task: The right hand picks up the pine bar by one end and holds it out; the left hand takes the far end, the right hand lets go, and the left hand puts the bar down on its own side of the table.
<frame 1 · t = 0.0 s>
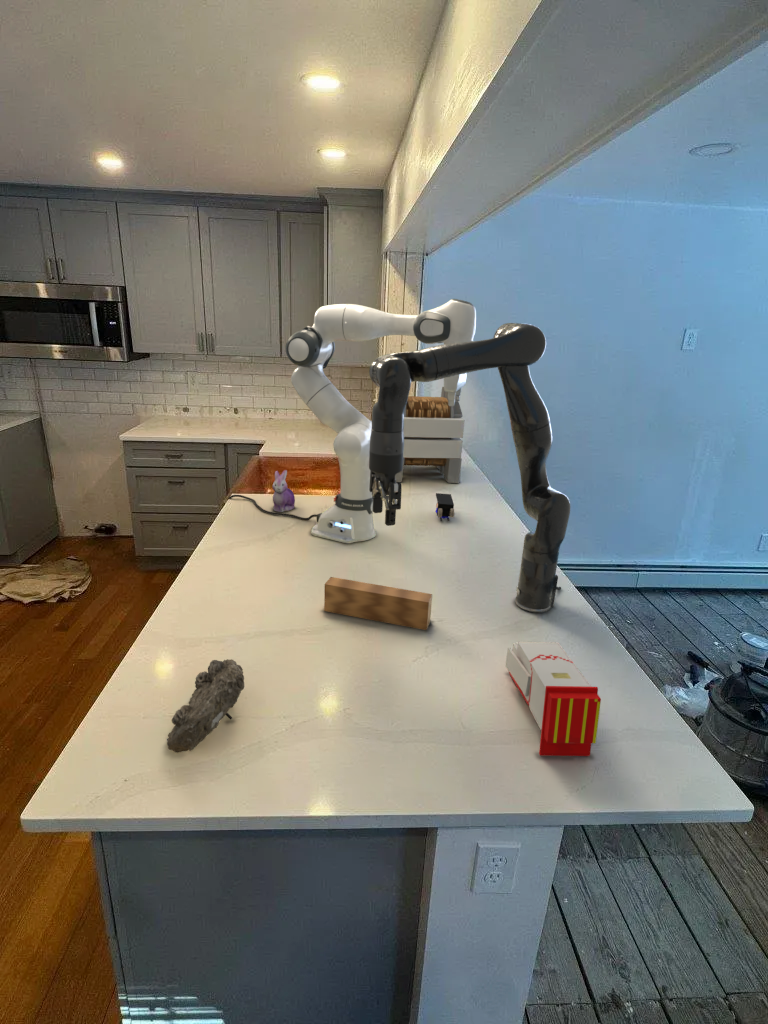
left hand: (454, 403, 174), 48 cm above the counter, tool pointing down, fingers open, 8 cm apart
right hand: (383, 518, 130), 29 cm above the counter, tool pointing down, fingers open, 8 cm apart
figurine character: (443, 517, 218), on the counter
toy: (542, 706, 115), on the counter
fossil: (212, 717, 108), on the counter
figurine: (283, 508, 219), on the counter
bar: (376, 616, 146), on the counter
legged crate with fins: (419, 473, 275), on the counter
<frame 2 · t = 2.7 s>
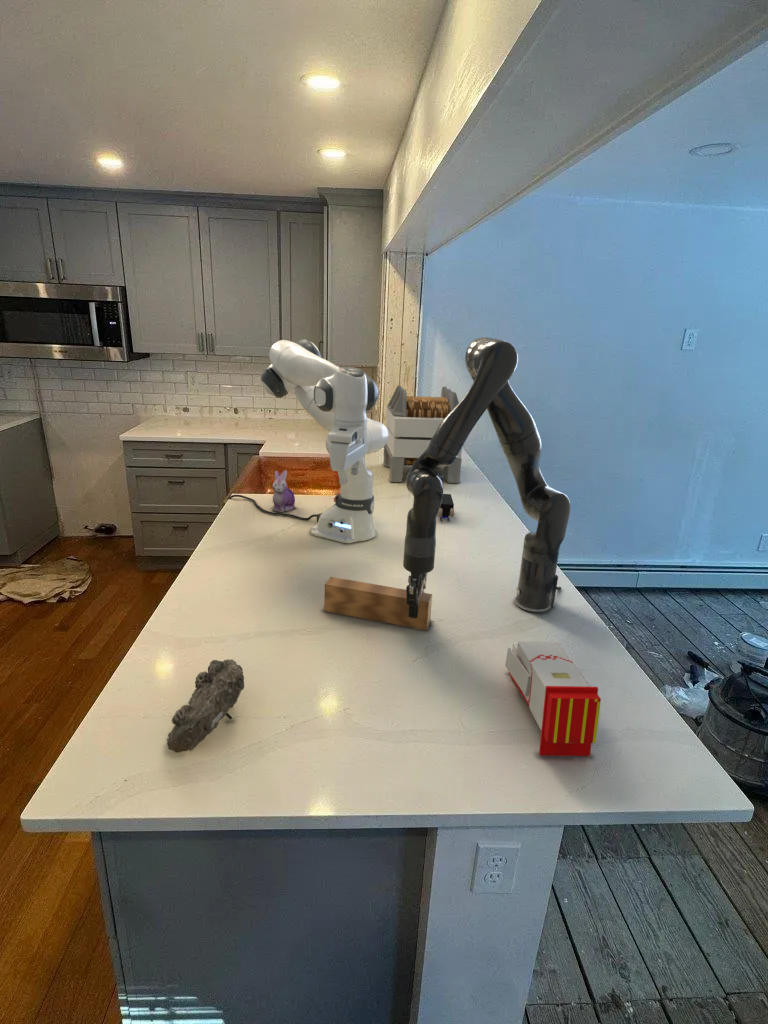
left hand: (349, 479, 157), 30 cm above the counter, tool pointing down, fingers open, 8 cm apart
right hand: (415, 611, 142), 3 cm above the counter, tool pointing down, fingers closed on bar, 4 cm apart
bar: (376, 616, 146), on the counter, touching right hand
everything else where it was.
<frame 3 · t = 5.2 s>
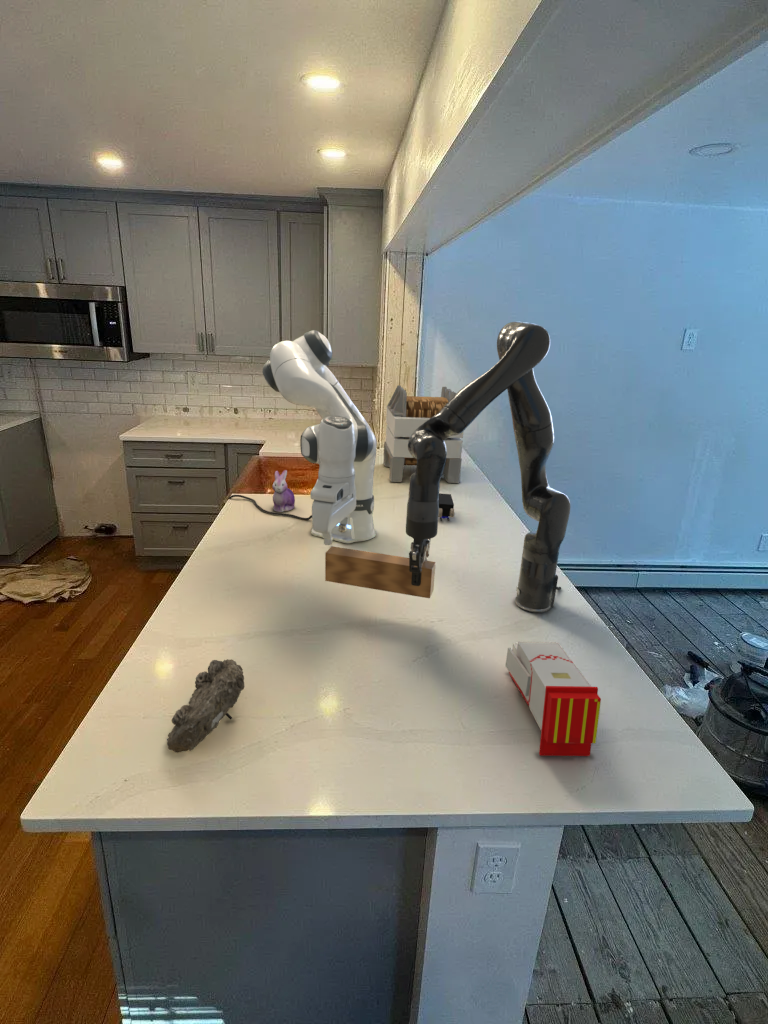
left hand: (335, 537, 142), 20 cm above the counter, tool pointing down, fingers open, 8 cm apart
right hand: (418, 580, 139), 12 cm above the counter, tool pointing down, fingers closed on bar, 4 cm apart
bar: (378, 585, 143), point 9 cm above the counter, touching right hand
everything else where it was.
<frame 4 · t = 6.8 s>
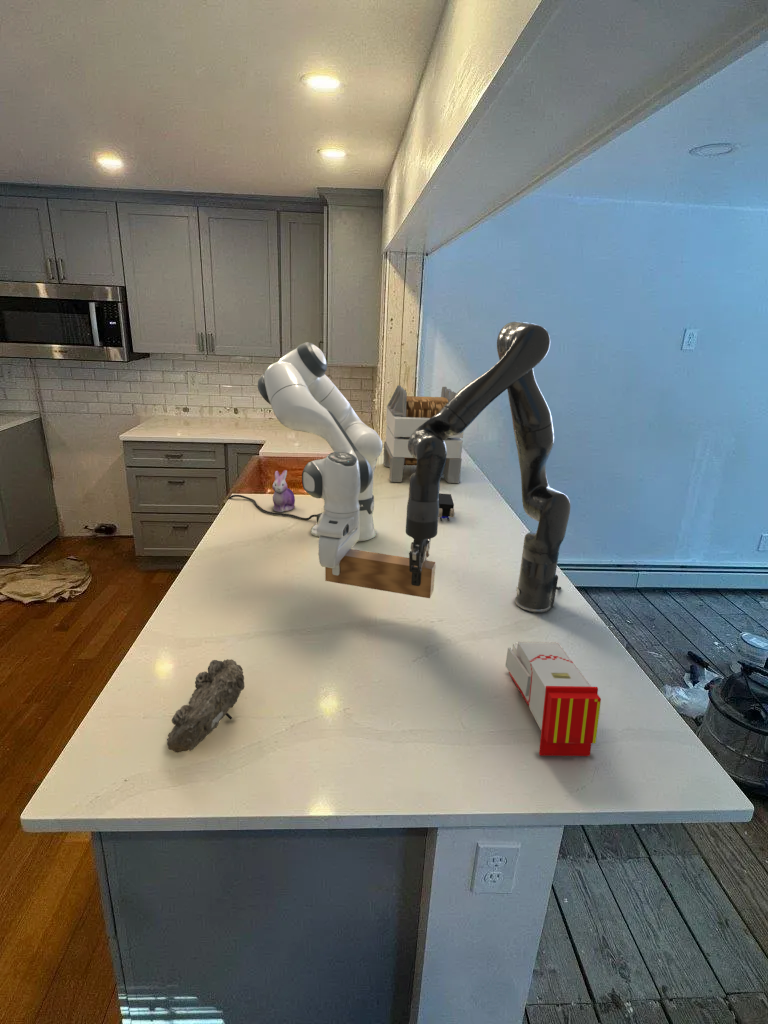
left hand: (340, 569, 145), 12 cm above the counter, tool pointing down, fingers closed on bar, 4 cm apart
right hand: (418, 580, 139), 12 cm above the counter, tool pointing down, fingers closed on bar, 4 cm apart
bar: (378, 585, 143), point 9 cm above the counter, touching left hand, right hand
everything else where it was.
when the right hand's fingers open (12 cm above the counter, at t = 7.9 s): bar stays where it is, held by the left hand.
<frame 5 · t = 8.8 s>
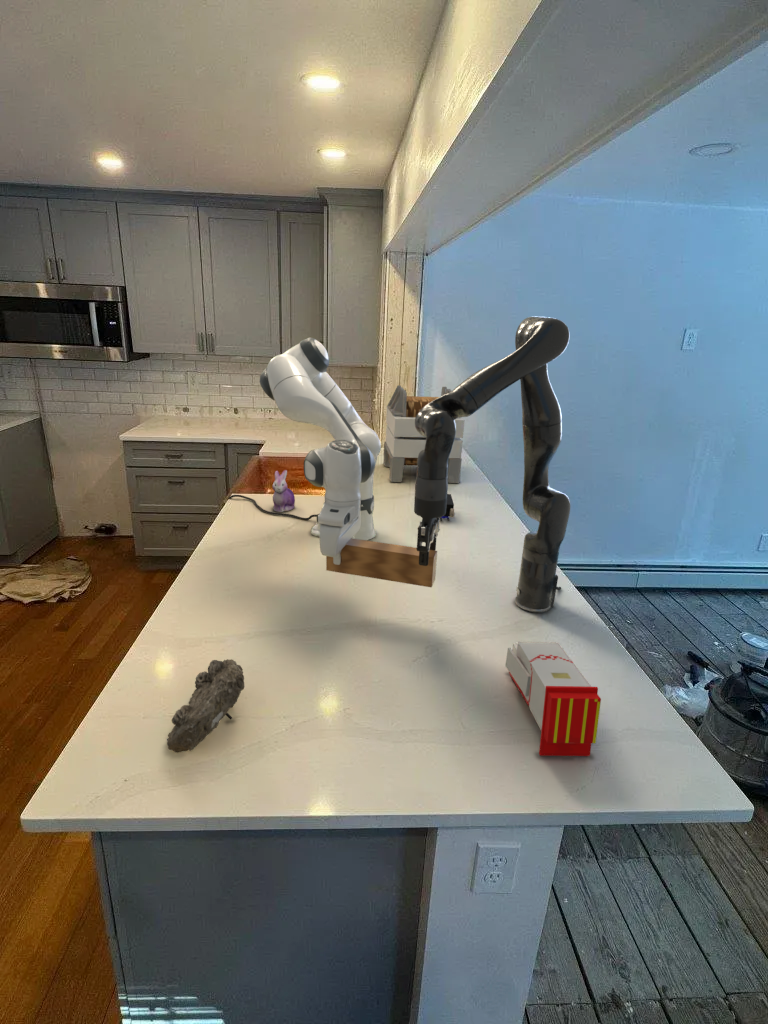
left hand: (341, 558, 144), 14 cm above the counter, tool pointing down, fingers closed on bar, 4 cm apart
right hand: (427, 557, 137), 18 cm above the counter, tool pointing down, fingers open, 8 cm apart
bar: (380, 575, 142), point 12 cm above the counter, touching left hand
everything else where it was.
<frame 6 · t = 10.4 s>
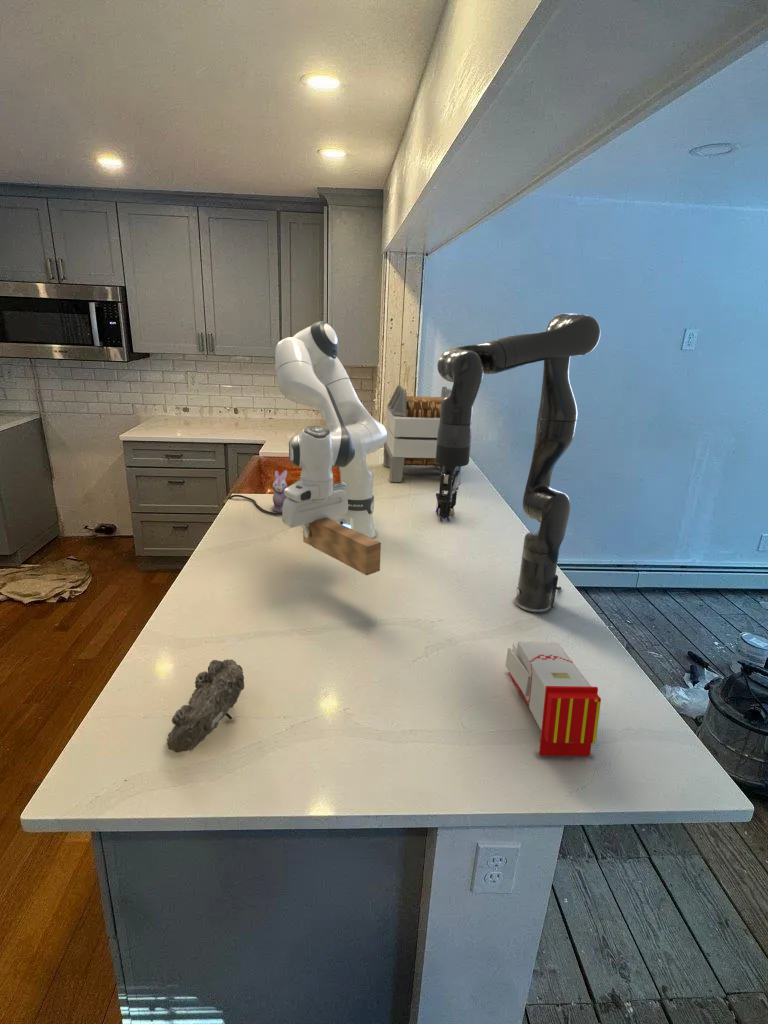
left hand: (316, 534, 158), 14 cm above the counter, tool pointing down, fingers closed on bar, 4 cm apart
right hand: (447, 510, 132), 31 cm above the counter, tool pointing down, fingers open, 8 cm apart
bar: (339, 555, 152), point 12 cm above the counter, touching left hand
everything else where it was.
when the left hand's fingers open (4 cm above the counter, at t = 12.0 s): bar stays where it is, on the counter.
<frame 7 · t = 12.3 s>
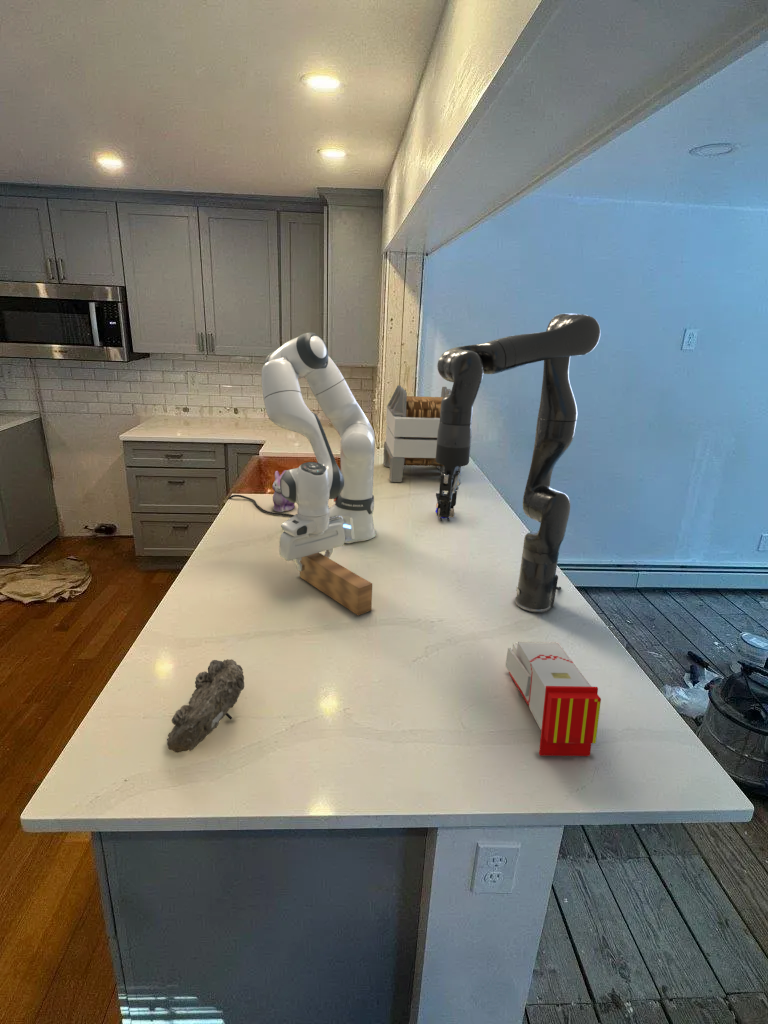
left hand: (313, 566, 162), 4 cm above the counter, tool pointing down, fingers open, 7 cm apart
right hand: (447, 510, 132), 31 cm above the counter, tool pointing down, fingers open, 8 cm apart
bar: (333, 593, 157), on the counter
everything else where it was.
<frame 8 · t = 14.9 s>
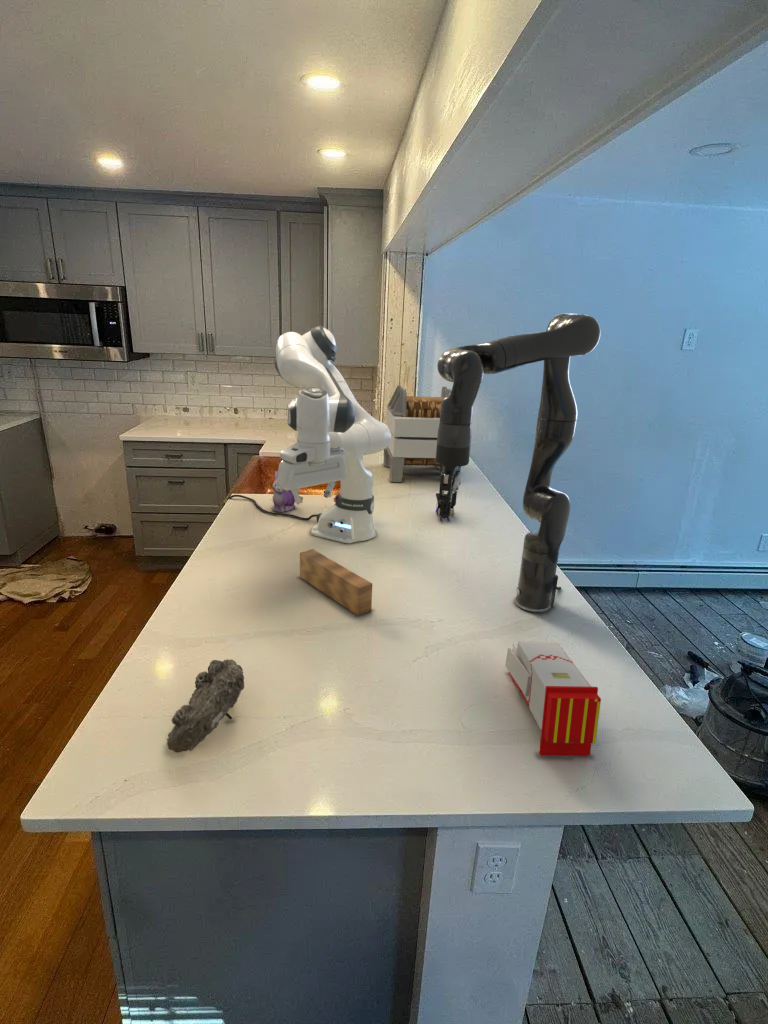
left hand: (313, 500, 155), 24 cm above the counter, tool pointing down, fingers open, 8 cm apart
right hand: (447, 510, 132), 31 cm above the counter, tool pointing down, fingers open, 8 cm apart
nothing on the counter moved.
at the end: bar inside the target area (9.9 cm from its centre), on the counter; the left hand is holding nothing; the right hand is holding nothing; bar at rest at the end (0.0 cm/s) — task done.
